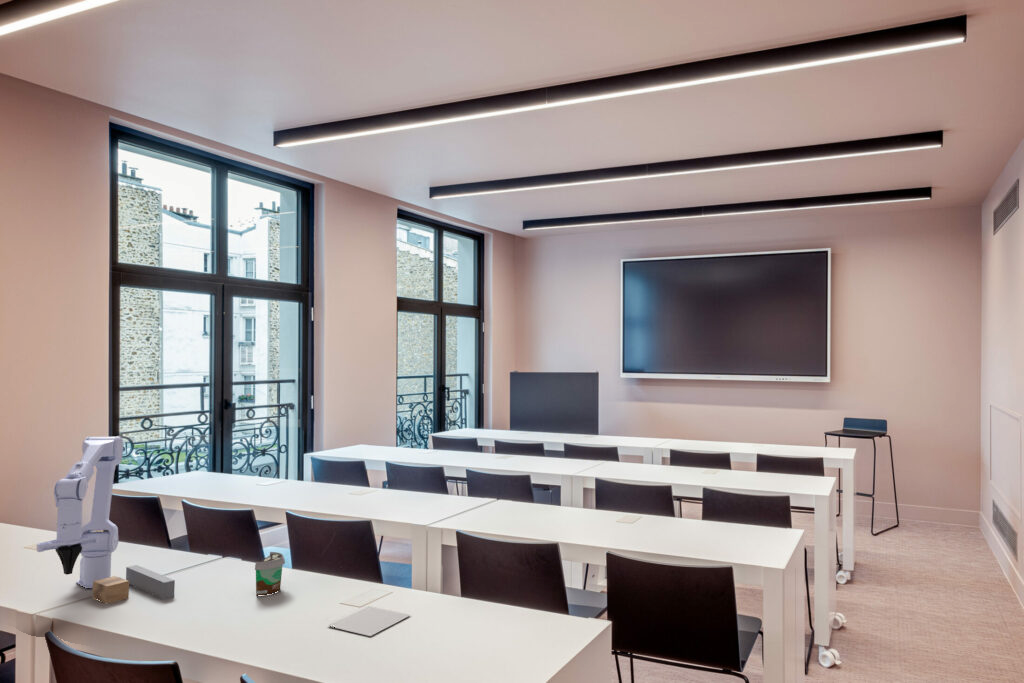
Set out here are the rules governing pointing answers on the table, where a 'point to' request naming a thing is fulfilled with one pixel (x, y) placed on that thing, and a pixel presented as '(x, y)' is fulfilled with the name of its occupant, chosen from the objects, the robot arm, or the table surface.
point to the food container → (269, 574)
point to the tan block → (111, 589)
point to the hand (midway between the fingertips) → (67, 573)
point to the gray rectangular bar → (150, 582)
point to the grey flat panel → (369, 620)
